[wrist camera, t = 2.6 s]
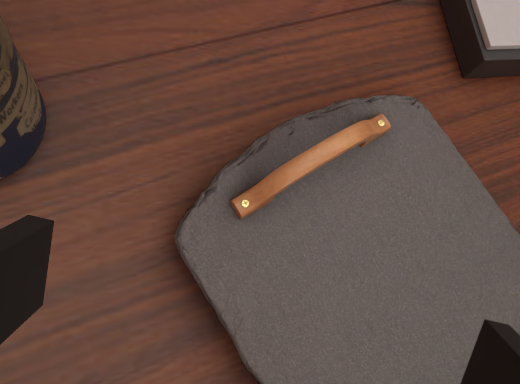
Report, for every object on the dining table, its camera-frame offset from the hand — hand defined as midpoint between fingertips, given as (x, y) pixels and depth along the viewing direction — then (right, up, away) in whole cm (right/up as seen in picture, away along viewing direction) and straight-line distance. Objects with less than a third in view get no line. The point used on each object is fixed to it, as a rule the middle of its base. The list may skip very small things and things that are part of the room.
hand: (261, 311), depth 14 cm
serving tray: (+11, -8, +20) cm, 25 cm away
